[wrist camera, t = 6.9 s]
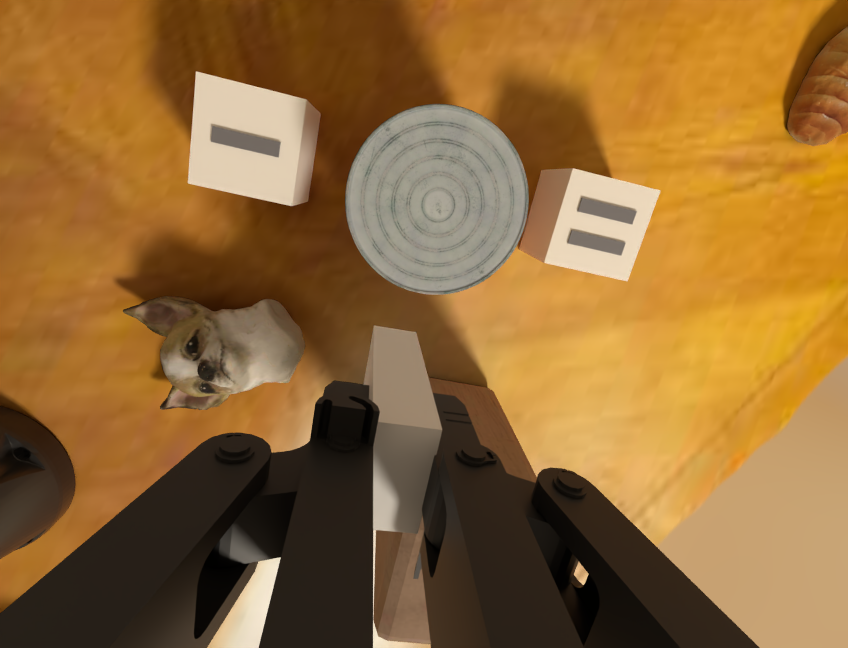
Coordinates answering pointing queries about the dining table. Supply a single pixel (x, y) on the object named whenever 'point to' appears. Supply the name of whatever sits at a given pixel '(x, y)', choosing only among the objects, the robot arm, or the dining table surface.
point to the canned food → (436, 199)
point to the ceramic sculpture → (220, 348)
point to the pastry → (823, 96)
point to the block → (397, 551)
